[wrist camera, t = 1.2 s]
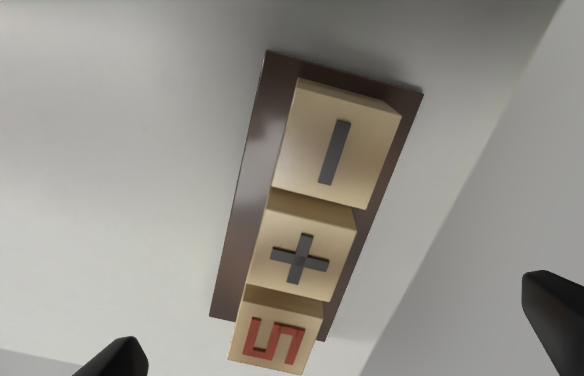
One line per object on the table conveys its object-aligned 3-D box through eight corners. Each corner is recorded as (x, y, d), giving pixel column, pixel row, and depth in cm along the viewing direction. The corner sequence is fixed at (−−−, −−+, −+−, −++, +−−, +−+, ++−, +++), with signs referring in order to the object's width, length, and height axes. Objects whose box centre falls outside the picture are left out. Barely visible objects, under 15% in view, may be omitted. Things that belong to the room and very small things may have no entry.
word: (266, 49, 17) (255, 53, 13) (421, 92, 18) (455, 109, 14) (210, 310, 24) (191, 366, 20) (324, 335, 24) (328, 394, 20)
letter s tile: (320, 276, 22) (324, 322, 18) (302, 328, 23) (301, 379, 20) (251, 259, 21) (240, 303, 18) (237, 313, 23) (225, 363, 20)
